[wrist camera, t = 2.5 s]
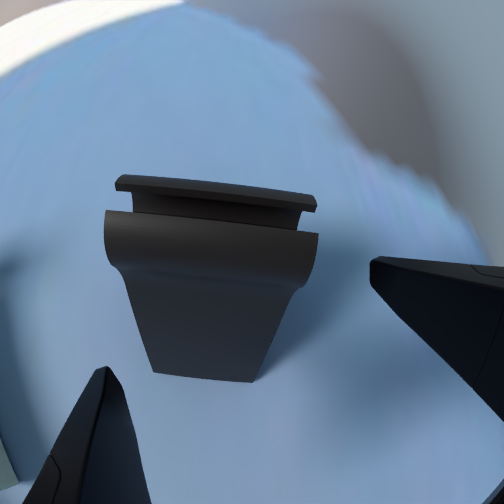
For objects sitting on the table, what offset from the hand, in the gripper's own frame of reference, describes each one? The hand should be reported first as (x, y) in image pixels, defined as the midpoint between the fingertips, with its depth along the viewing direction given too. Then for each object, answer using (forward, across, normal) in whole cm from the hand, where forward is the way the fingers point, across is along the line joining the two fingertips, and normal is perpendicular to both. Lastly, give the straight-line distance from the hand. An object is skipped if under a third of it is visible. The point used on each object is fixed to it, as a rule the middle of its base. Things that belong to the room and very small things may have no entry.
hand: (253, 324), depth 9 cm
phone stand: (+10, 0, +5) cm, 11 cm away
